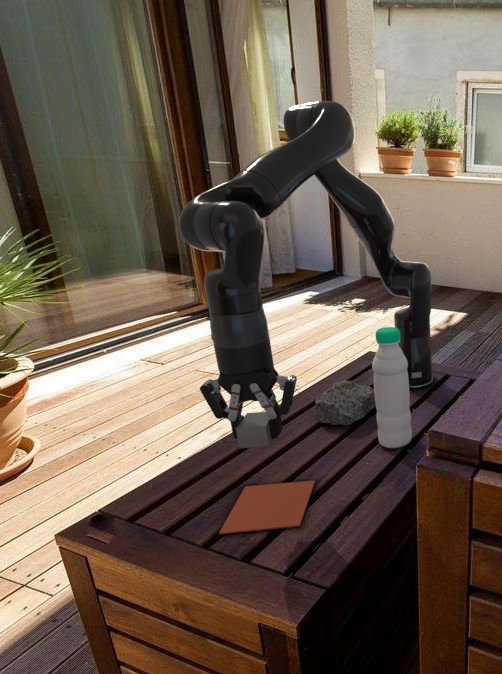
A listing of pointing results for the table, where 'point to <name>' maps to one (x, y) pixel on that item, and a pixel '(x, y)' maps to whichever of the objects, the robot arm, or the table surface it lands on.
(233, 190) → the robot arm
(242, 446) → the cube
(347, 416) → the rock
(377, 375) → the water bottle
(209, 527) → the table surface
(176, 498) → the table surface
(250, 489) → the mat
